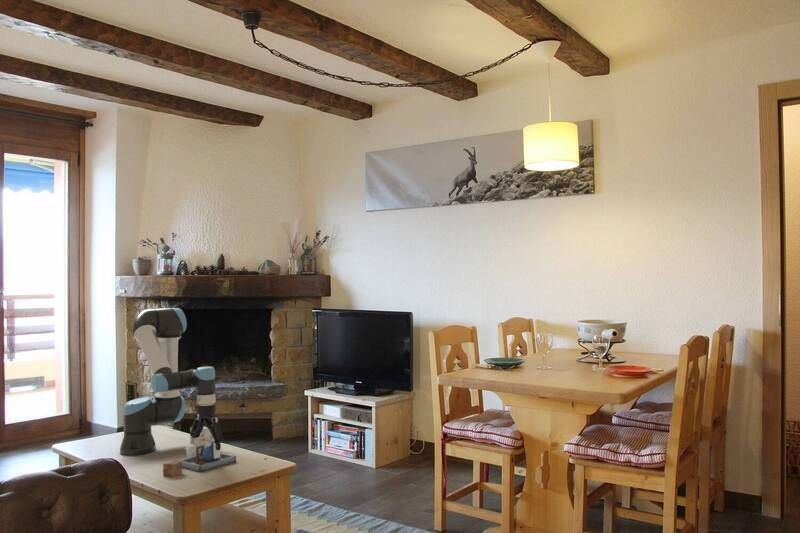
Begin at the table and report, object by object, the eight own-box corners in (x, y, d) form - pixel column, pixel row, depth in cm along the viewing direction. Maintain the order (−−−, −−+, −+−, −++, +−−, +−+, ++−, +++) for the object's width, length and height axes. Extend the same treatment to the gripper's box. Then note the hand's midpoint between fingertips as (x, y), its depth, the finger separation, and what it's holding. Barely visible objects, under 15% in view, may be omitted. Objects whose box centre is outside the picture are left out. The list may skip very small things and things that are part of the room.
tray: (177, 466, 271) (177, 460, 271) (214, 456, 285) (214, 451, 286) (199, 472, 262) (199, 466, 262) (236, 461, 276) (236, 456, 276)
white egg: (184, 460, 281) (184, 446, 282) (193, 457, 285) (193, 443, 285) (190, 461, 279) (190, 447, 279) (199, 459, 282) (199, 445, 282)
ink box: (189, 453, 293) (189, 427, 293) (202, 448, 300) (201, 423, 301) (205, 454, 289) (205, 428, 290) (217, 450, 297) (217, 424, 297)
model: (226, 461, 274) (225, 439, 274) (206, 466, 267) (206, 443, 267) (210, 457, 282) (209, 435, 282) (190, 462, 275) (190, 439, 275)
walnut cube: (163, 476, 258) (162, 463, 258) (171, 472, 263) (171, 460, 263) (173, 477, 257) (173, 464, 257) (181, 473, 261) (181, 461, 261)
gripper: (180, 402, 279) (181, 453, 278) (217, 408, 264) (218, 461, 263) (196, 400, 285) (196, 449, 284) (232, 405, 270) (233, 457, 269)
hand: (207, 455), depth 274 cm, fingers open, 13 cm apart
